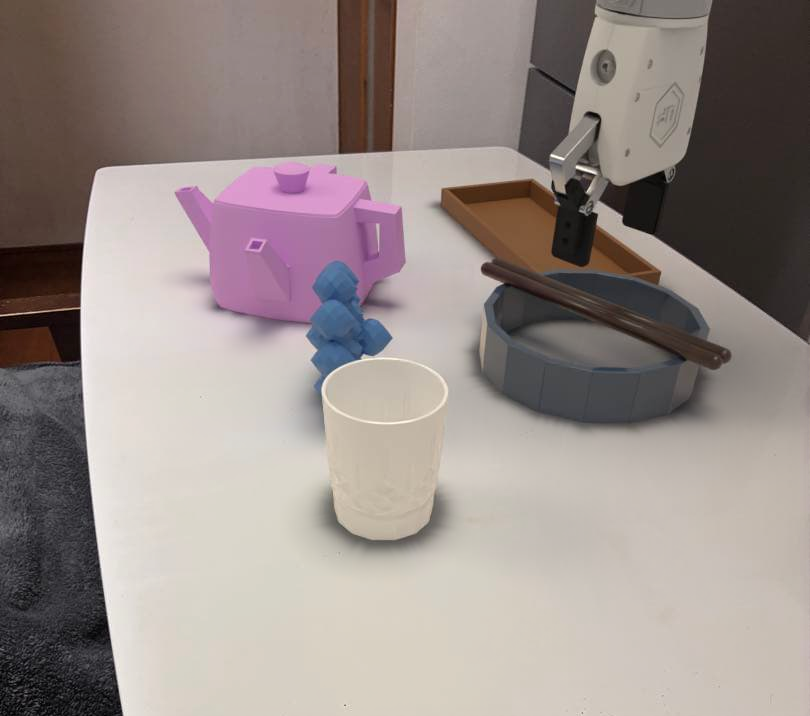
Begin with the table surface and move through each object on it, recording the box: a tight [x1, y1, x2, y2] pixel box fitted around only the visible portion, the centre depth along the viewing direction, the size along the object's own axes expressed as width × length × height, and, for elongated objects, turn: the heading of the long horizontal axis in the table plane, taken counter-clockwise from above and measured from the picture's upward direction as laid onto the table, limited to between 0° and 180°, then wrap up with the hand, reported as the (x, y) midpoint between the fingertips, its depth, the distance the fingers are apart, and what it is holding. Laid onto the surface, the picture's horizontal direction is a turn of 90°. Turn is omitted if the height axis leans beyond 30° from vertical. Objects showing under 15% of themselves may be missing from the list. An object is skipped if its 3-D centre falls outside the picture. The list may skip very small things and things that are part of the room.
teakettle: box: [174, 161, 407, 324], centre depth 81 cm, size 17×17×12 cm
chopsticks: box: [480, 257, 733, 371], centre depth 72 cm, size 3×24×1 cm, turn 46°
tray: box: [440, 178, 662, 286], centre depth 94 cm, size 28×12×2 cm, turn 21°
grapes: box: [305, 261, 393, 397], centre depth 66 cm, size 12×7×12 cm, turn 0°
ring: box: [478, 269, 711, 424], centre depth 74 cm, size 19×19×5 cm
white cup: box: [321, 356, 450, 541], centre depth 56 cm, size 8×8×10 cm
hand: (605, 244), depth 68 cm, fingers open, 9 cm apart
